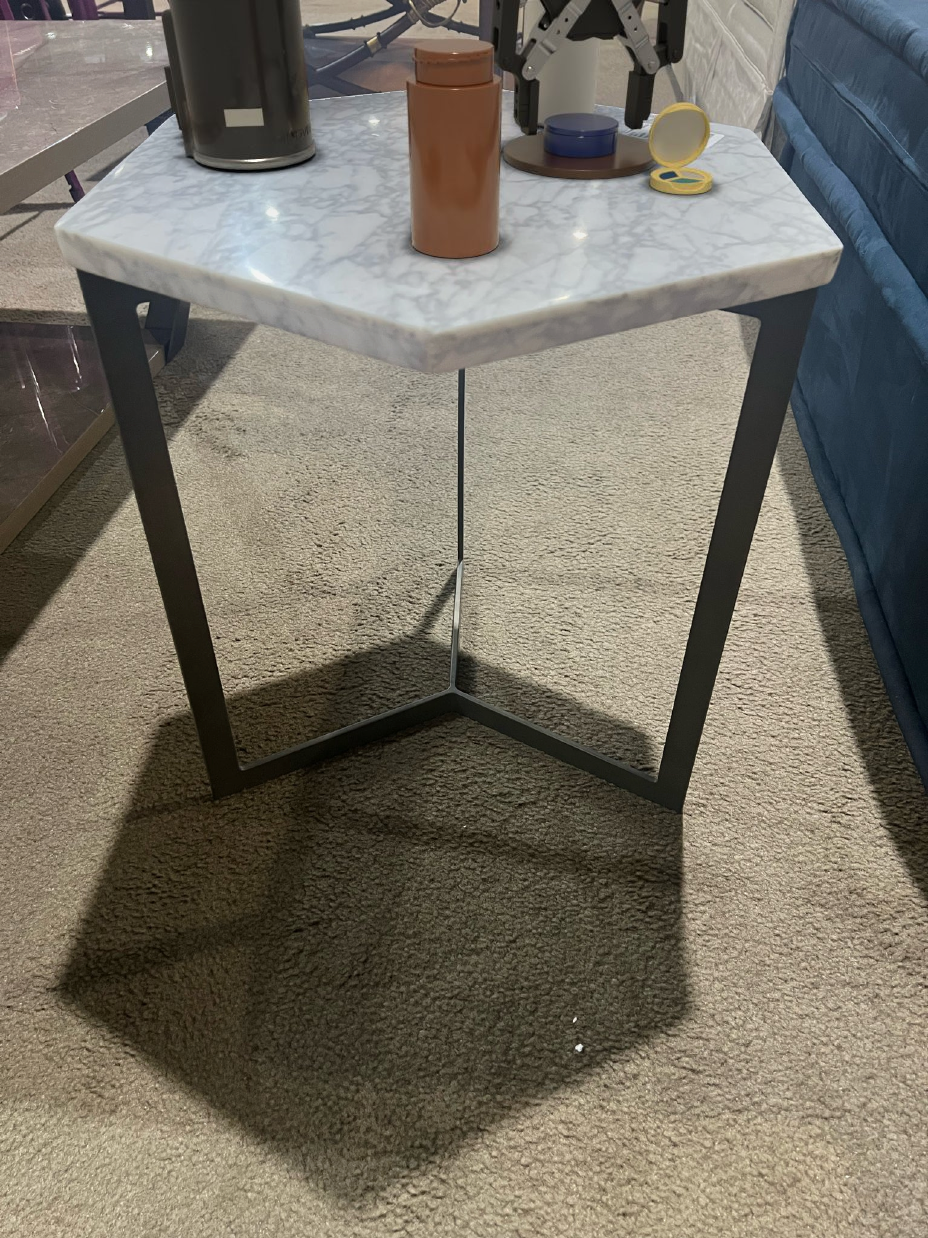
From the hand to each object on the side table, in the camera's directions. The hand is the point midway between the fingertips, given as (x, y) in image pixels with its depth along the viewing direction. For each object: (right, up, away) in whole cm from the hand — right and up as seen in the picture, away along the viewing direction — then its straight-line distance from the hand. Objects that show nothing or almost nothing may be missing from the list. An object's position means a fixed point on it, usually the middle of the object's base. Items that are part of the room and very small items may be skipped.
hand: (581, 130), depth 72 cm
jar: (-10, -14, -14) cm, 22 cm away
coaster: (0, -1, +1) cm, 2 cm away
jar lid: (0, 0, 0) cm, 0 cm away
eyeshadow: (+7, -6, -4) cm, 10 cm away
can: (-1, +6, +11) cm, 12 cm away
